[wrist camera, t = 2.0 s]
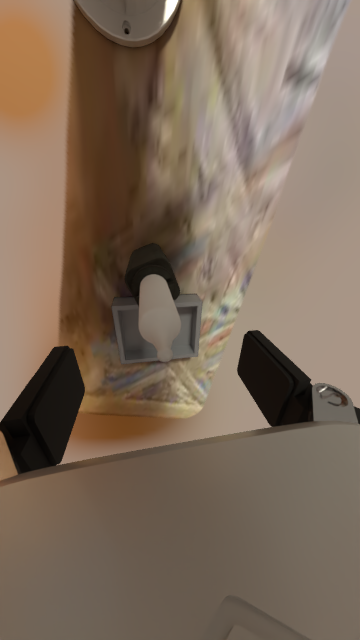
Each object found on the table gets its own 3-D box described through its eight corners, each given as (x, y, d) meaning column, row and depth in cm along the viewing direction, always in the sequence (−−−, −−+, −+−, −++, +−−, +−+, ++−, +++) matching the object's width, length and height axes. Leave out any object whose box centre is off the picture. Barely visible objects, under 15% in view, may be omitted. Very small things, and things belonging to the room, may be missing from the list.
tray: (114, 297, 33) (111, 306, 30) (196, 293, 36) (202, 301, 32) (122, 351, 39) (121, 364, 36) (193, 345, 41) (198, 356, 38)
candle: (169, 270, 33) (221, 373, 11) (142, 281, 33) (142, 405, 11) (157, 240, 30) (196, 299, 9) (128, 253, 30) (93, 341, 9)
